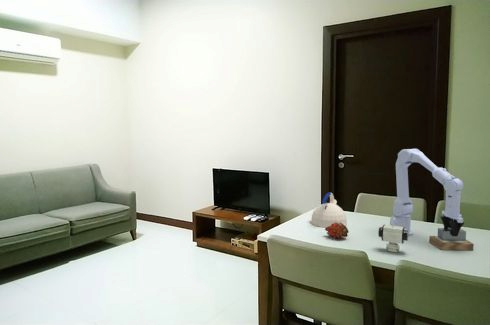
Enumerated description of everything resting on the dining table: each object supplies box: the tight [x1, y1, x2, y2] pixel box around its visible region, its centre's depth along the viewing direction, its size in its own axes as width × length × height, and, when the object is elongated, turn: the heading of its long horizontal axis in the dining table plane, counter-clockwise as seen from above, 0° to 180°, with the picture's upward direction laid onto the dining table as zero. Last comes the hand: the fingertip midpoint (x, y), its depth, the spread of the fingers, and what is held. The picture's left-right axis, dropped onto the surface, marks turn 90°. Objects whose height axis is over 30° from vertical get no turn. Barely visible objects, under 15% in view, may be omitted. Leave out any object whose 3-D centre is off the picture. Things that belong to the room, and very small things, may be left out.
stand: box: [428, 235, 475, 251], centre depth 159 cm, size 14×11×3 cm
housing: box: [437, 227, 467, 241], centre depth 159 cm, size 10×5×5 cm, turn 86°
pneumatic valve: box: [378, 224, 409, 253], centre depth 153 cm, size 6×12×12 cm, turn 60°
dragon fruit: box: [324, 222, 349, 240], centre depth 172 cm, size 8×8×12 cm
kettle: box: [310, 192, 348, 228], centre depth 198 cm, size 20×21×18 cm
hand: (451, 234), depth 159 cm, fingers open, 6 cm apart
